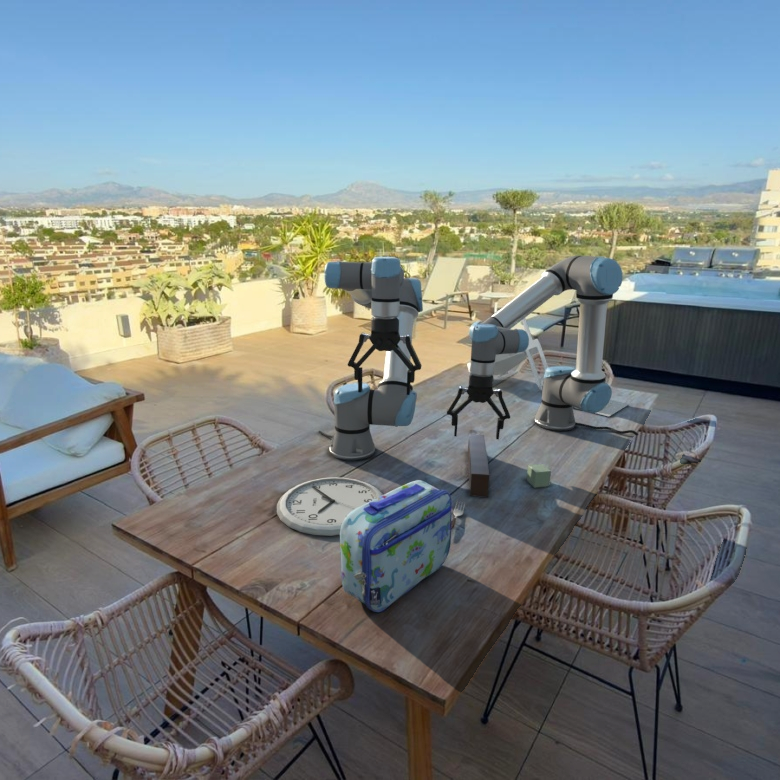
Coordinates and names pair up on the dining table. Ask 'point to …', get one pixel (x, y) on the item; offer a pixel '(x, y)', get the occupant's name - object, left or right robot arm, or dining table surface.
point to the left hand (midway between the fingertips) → (384, 392)
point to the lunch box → (394, 543)
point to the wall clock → (323, 504)
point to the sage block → (538, 475)
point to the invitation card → (611, 408)
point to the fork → (457, 514)
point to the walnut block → (478, 466)
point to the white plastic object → (520, 358)
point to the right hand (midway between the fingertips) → (476, 436)
